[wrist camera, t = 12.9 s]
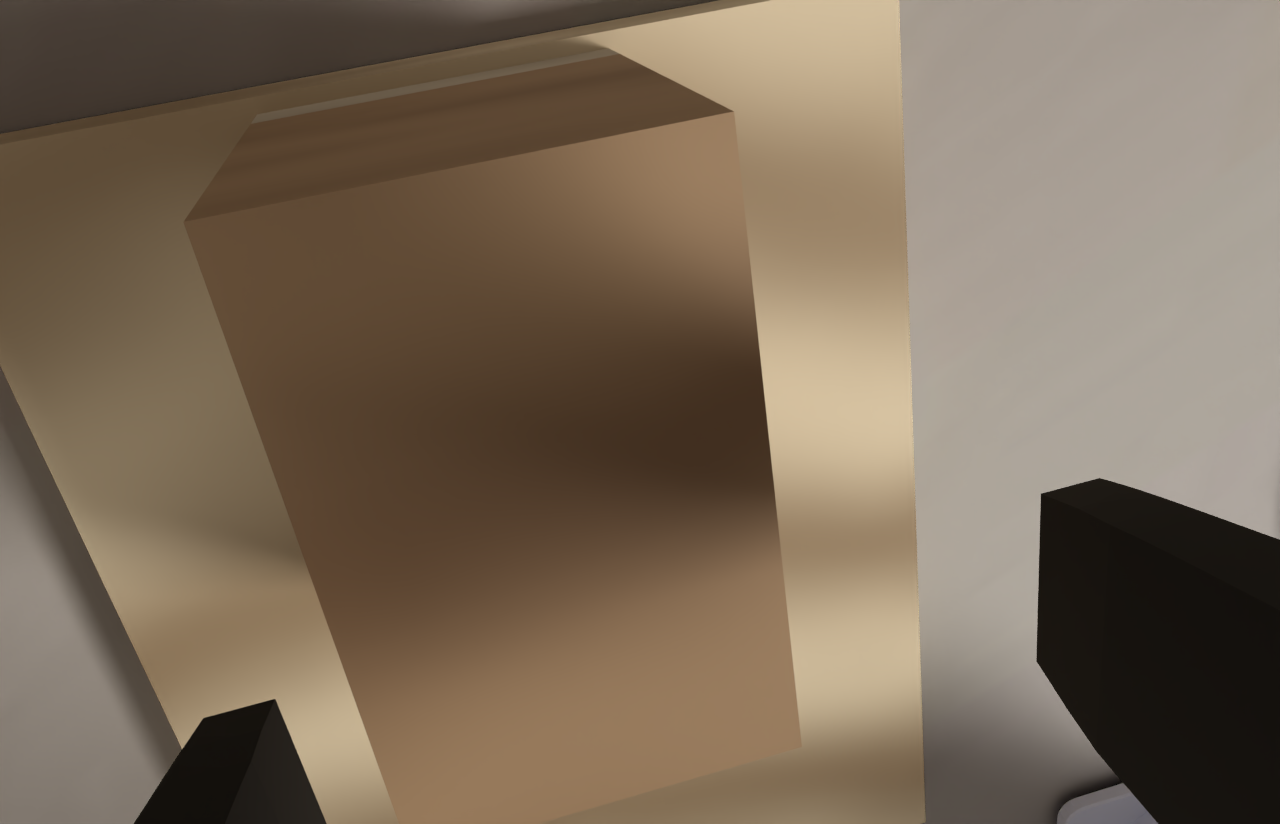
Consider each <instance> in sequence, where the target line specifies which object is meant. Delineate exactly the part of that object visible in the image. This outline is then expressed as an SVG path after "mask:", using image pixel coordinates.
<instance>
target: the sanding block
mask: <svg viewBox="0 0 1280 824" xmlns="http://www.w3.org/2000/svg"><path fill="white" fill-rule="evenodd" d="M183 223H184V225H185V228H186V231H187V234H188V237H189V239H190V242H191V245H192V248H193V251H194V253H195V256H196V259H197V262H198V265H199V267H200V270H201V273H202V276H203V278H204V281H205V284H206V287H207V290H208V292H209V295H210V298H211V301H212V304H213V306H214V309H215V312H216V315H217V317H218V320H219V323H220V326H221V329H222V331H223V334H224V337H225V340H226V343H227V345H228V348H229V351H230V354H231V357H232V359H233V362H234V365H235V368H236V370H237V373H238V376H239V379H240V382H241V384H242V387H243V390H244V393H245V396H246V398H247V401H248V404H249V407H250V410H251V412H252V415H253V418H254V421H255V423H256V426H257V429H258V432H259V435H260V437H261V440H262V443H263V446H264V449H265V451H266V454H267V457H268V460H269V463H270V465H271V468H272V471H273V474H274V476H275V479H276V482H277V485H278V488H279V490H280V493H281V496H282V499H283V502H284V504H285V507H286V510H287V513H288V516H289V518H290V521H291V524H292V527H293V529H294V532H295V535H296V538H297V541H298V543H299V546H300V549H301V552H302V555H303V557H304V560H305V563H306V566H307V568H308V571H309V574H310V577H311V580H312V582H313V585H314V588H315V591H316V594H317V596H318V599H319V602H320V605H321V608H322V610H323V613H324V616H325V619H326V621H327V624H328V627H329V630H330V633H331V635H332V638H333V641H334V644H335V647H336V649H337V652H338V655H339V658H340V661H341V663H342V666H343V669H344V672H345V674H346V677H347V680H348V683H349V686H350V688H351V691H352V694H353V697H354V700H355V702H356V705H357V708H358V711H359V714H360V716H361V719H362V722H363V725H364V727H365V730H366V733H367V736H368V739H369V741H370V744H371V747H372V750H373V753H374V755H375V758H376V761H377V764H378V767H379V769H380V772H381V775H382V778H383V780H384V783H385V786H386V789H387V792H388V794H389V797H390V800H391V803H392V806H393V808H394V811H395V814H396V817H397V819H398V822H399V824H539V823H542V822H545V821H549V820H552V819H556V818H559V817H563V816H566V815H570V814H573V813H576V812H580V811H583V810H587V809H590V808H594V807H597V806H601V805H604V804H607V803H611V802H614V801H618V800H621V799H625V798H628V797H631V796H635V795H638V794H642V793H645V792H649V791H652V790H656V789H659V788H662V787H666V786H669V785H673V784H676V783H680V782H683V781H686V780H690V779H693V778H697V777H700V776H704V775H707V774H711V773H714V772H717V771H721V770H724V769H728V768H731V767H735V766H738V765H742V764H745V763H748V762H752V761H755V760H759V759H762V758H766V757H769V756H772V755H776V754H779V753H783V752H786V751H790V750H793V749H797V748H800V747H802V743H801V734H800V724H799V715H798V706H797V696H796V687H795V678H794V668H793V659H792V649H791V640H790V631H789V621H788V612H787V603H786V593H785V584H784V574H783V565H782V556H781V546H780V537H779V528H778V518H777V509H776V500H775V490H774V481H773V471H772V462H771V453H770V443H769V434H768V425H767V415H766V406H765V396H764V387H763V378H762V368H761V359H760V350H759V340H758V331H757V321H756V312H755V303H754V293H753V284H752V275H751V265H750V256H749V247H748V237H747V228H746V218H745V209H744V200H743V190H742V181H741V172H740V162H739V153H738V143H737V134H736V125H735V115H734V111H732V110H730V109H728V108H726V107H724V106H722V105H720V104H718V103H716V102H714V101H712V100H710V99H708V98H706V97H705V96H703V95H701V94H699V93H697V92H695V91H693V90H691V89H689V88H687V87H685V86H683V85H681V84H679V83H677V82H675V81H673V80H671V79H669V78H667V77H665V76H663V75H661V74H659V73H657V72H655V71H653V70H651V69H649V68H647V67H645V66H643V65H641V64H639V63H637V62H635V61H633V60H631V59H629V58H627V57H625V56H623V55H621V54H619V53H617V52H615V51H613V50H611V49H609V48H606V49H601V50H595V51H590V52H585V53H580V54H574V55H569V56H564V57H558V58H553V59H548V60H543V61H537V62H532V63H527V64H521V65H516V66H511V67H505V68H500V69H495V70H490V71H484V72H479V73H474V74H468V75H463V76H458V77H453V78H447V79H442V80H437V81H431V82H426V83H421V84H416V85H410V86H405V87H400V88H394V89H389V90H384V91H379V92H373V93H368V94H363V95H357V96H352V97H347V98H341V99H336V100H331V101H326V102H320V103H315V104H310V105H304V106H299V107H294V108H289V109H283V110H278V111H273V112H267V113H262V114H257V115H256V117H255V118H254V120H253V121H252V123H251V124H250V126H249V127H248V128H247V130H246V131H245V133H244V134H243V136H242V137H241V139H240V140H239V142H238V143H237V145H236V146H235V147H234V149H233V150H232V152H231V153H230V155H229V156H228V158H227V159H226V161H225V162H224V163H223V165H222V166H221V168H220V169H219V171H218V172H217V174H216V175H215V177H214V178H213V180H212V181H211V182H210V184H209V185H208V187H207V188H206V190H205V191H204V193H203V194H202V196H201V197H200V198H199V200H198V201H197V203H196V204H195V206H194V207H193V209H192V210H191V212H190V213H189V215H188V216H187V217H186V219H185V220H184V222H183Z"/></svg>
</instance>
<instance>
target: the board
mask: <svg viewBox="0 0 1280 824" xmlns="http://www.w3.org/2000/svg"><path fill="white" fill-rule="evenodd" d="M606 48H609V49H611V50H613V51H615V52H617V53H619V54H621V55H623V56H625V57H627V58H629V59H631V60H633V61H635V62H637V63H639V64H641V65H643V66H645V67H647V68H649V69H651V70H653V71H655V72H657V73H659V74H661V75H663V76H665V77H667V78H669V79H671V80H673V81H675V82H677V83H679V84H681V85H683V86H685V87H687V88H689V89H691V90H693V91H695V92H697V93H699V94H701V95H703V96H705V97H706V98H708V99H710V100H712V101H714V102H716V103H718V104H720V105H722V106H724V107H726V108H728V109H730V110H732V111H734V115H735V125H736V134H737V143H738V153H739V162H740V172H741V181H742V190H743V200H744V209H745V218H746V228H747V237H748V247H749V256H750V265H751V275H752V284H753V293H754V303H755V312H756V321H757V331H758V340H759V350H760V359H761V368H762V378H763V387H764V396H765V406H766V415H767V425H768V434H769V443H770V453H771V462H772V471H773V481H774V490H775V500H776V509H777V518H778V528H779V537H780V546H781V556H782V565H783V574H784V584H785V593H786V603H787V612H788V621H789V631H790V640H791V649H792V659H793V668H794V678H795V687H796V696H797V706H798V715H799V724H800V734H801V743H802V747H800V748H797V749H793V750H790V751H786V752H783V753H779V754H776V755H772V756H769V757H766V758H762V759H759V760H755V761H752V762H748V763H745V764H742V765H738V766H735V767H731V768H728V769H724V770H721V771H717V772H714V773H711V774H707V775H704V776H700V777H697V778H693V779H690V780H686V781H683V782H680V783H676V784H673V785H669V786H666V787H662V788H659V789H656V790H652V791H649V792H645V793H642V794H638V795H635V796H631V797H628V798H625V799H621V800H618V801H614V802H611V803H607V804H604V805H601V806H597V807H594V808H590V809H587V810H583V811H580V812H576V813H573V814H570V815H566V816H563V817H559V818H556V819H552V820H549V821H545V822H542V823H539V824H921V823H924V822H926V818H925V787H924V756H923V725H922V694H921V663H920V632H919V602H918V571H917V540H916V509H915V478H914V447H913V417H912V386H911V355H910V324H909V293H908V262H907V231H906V201H905V170H904V139H903V108H902V77H901V46H900V16H899V0H718V1H713V2H708V3H702V4H697V5H691V6H686V7H681V8H675V9H670V10H664V11H659V12H654V13H648V14H643V15H638V16H632V17H627V18H621V19H616V20H611V21H605V22H600V23H595V24H589V25H584V26H578V27H573V28H568V29H562V30H557V31H551V32H546V33H541V34H535V35H530V36H525V37H519V38H514V39H508V40H503V41H498V42H492V43H487V44H481V45H476V46H471V47H465V48H460V49H455V50H449V51H444V52H438V53H433V54H428V55H422V56H417V57H411V58H406V59H401V60H395V61H390V62H385V63H379V64H374V65H368V66H363V67H358V68H352V69H347V70H341V71H336V72H331V73H325V74H320V75H315V76H309V77H304V78H298V79H293V80H288V81H282V82H277V83H271V84H266V85H261V86H255V87H250V88H245V89H239V90H234V91H228V92H223V93H218V94H212V95H207V96H202V97H196V98H191V99H185V100H180V101H175V102H169V103H164V104H158V105H153V106H148V107H142V108H137V109H132V110H126V111H121V112H115V113H110V114H105V115H99V116H94V117H88V118H83V119H78V120H72V121H67V122H62V123H56V124H51V125H45V126H40V127H35V128H29V129H24V130H18V131H13V132H8V133H2V134H0V367H1V369H2V371H3V373H4V375H5V377H6V379H7V381H8V384H9V386H10V388H11V390H12V392H13V394H14V396H15V398H16V400H17V403H18V405H19V407H20V409H21V411H22V413H23V415H24V417H25V419H26V422H27V424H28V426H29V428H30V430H31V432H32V434H33V436H34V438H35V440H36V443H37V445H38V447H39V449H40V451H41V453H42V455H43V457H44V459H45V462H46V464H47V466H48V468H49V470H50V472H51V474H52V476H53V478H54V480H55V483H56V485H57V487H58V489H59V491H60V493H61V495H62V497H63V499H64V502H65V504H66V506H67V508H68V510H69V512H70V514H71V516H72V518H73V520H74V523H75V525H76V527H77V529H78V531H79V533H80V535H81V537H82V539H83V542H84V544H85V546H86V548H87V550H88V552H89V554H90V556H91V558H92V561H93V563H94V565H95V567H96V569H97V571H98V573H99V575H100V577H101V579H102V582H103V584H104V586H105V588H106V590H107V592H108V594H109V596H110V598H111V601H112V603H113V605H114V607H115V609H116V611H117V613H118V615H119V617H120V619H121V622H122V624H123V626H124V628H125V630H126V632H127V634H128V636H129V638H130V641H131V643H132V645H133V647H134V649H135V651H136V653H137V655H138V657H139V659H140V662H141V664H142V666H143V668H144V670H145V672H146V674H147V676H148V678H149V681H150V683H151V685H152V687H153V689H154V691H155V693H156V695H157V697H158V700H159V702H160V704H161V706H162V708H163V710H164V712H165V714H166V716H167V718H168V721H169V723H170V725H171V727H172V729H173V731H174V733H175V735H176V737H177V740H178V742H179V744H180V746H181V748H182V749H183V747H184V746H185V744H186V743H187V742H188V740H189V739H190V737H191V736H192V734H193V733H194V731H195V730H196V728H197V727H198V725H199V724H200V722H201V721H202V719H203V718H205V717H209V716H213V715H217V714H220V713H224V712H228V711H231V710H235V709H239V708H243V707H246V706H250V705H254V704H258V703H261V702H265V701H269V700H273V699H276V702H277V704H278V707H279V709H280V712H281V714H282V716H283V719H284V721H285V724H286V726H287V729H288V731H289V733H290V736H291V738H292V741H293V743H294V746H295V748H296V750H297V753H298V755H299V758H300V760H301V763H302V765H303V767H304V770H305V772H306V775H307V777H308V780H309V782H310V784H311V787H312V789H313V792H314V794H315V796H316V799H317V801H318V804H319V806H320V809H321V811H322V813H323V816H324V818H325V821H326V823H327V824H399V822H398V819H397V817H396V814H395V811H394V808H393V806H392V803H391V800H390V797H389V794H388V792H387V789H386V786H385V783H384V780H383V778H382V775H381V772H380V769H379V767H378V764H377V761H376V758H375V755H374V753H373V750H372V747H371V744H370V741H369V739H368V736H367V733H366V730H365V727H364V725H363V722H362V719H361V716H360V714H359V711H358V708H357V705H356V702H355V700H354V697H353V694H352V691H351V688H350V686H349V683H348V680H347V677H346V674H345V672H344V669H343V666H342V663H341V661H340V658H339V655H338V652H337V649H336V647H335V644H334V641H333V638H332V635H331V633H330V630H329V627H328V624H327V621H326V619H325V616H324V613H323V610H322V608H321V605H320V602H319V599H318V596H317V594H316V591H315V588H314V585H313V582H312V580H311V577H310V574H309V571H308V568H307V566H306V563H305V560H304V557H303V555H302V552H301V549H300V546H299V543H298V541H297V538H296V535H295V532H294V529H293V527H292V524H291V521H290V518H289V516H288V513H287V510H286V507H285V504H284V502H283V499H282V496H281V493H280V490H279V488H278V485H277V482H276V479H275V476H274V474H273V471H272V468H271V465H270V463H269V460H268V457H267V454H266V451H265V449H264V446H263V443H262V440H261V437H260V435H259V432H258V429H257V426H256V423H255V421H254V418H253V415H252V412H251V410H250V407H249V404H248V401H247V398H246V396H245V393H244V390H243V387H242V384H241V382H240V379H239V376H238V373H237V370H236V368H235V365H234V362H233V359H232V357H231V354H230V351H229V348H228V345H227V343H226V340H225V337H224V334H223V331H222V329H221V326H220V323H219V320H218V317H217V315H216V312H215V309H214V306H213V304H212V301H211V298H210V295H209V292H208V290H207V287H206V284H205V281H204V278H203V276H202V273H201V270H200V267H199V265H198V262H197V259H196V256H195V253H194V251H193V248H192V245H191V242H190V239H189V237H188V234H187V231H186V228H185V225H184V223H183V222H184V220H185V219H186V217H187V216H188V215H189V213H190V212H191V210H192V209H193V207H194V206H195V204H196V203H197V201H198V200H199V198H200V197H201V196H202V194H203V193H204V191H205V190H206V188H207V187H208V185H209V184H210V182H211V181H212V180H213V178H214V177H215V175H216V174H217V172H218V171H219V169H220V168H221V166H222V165H223V163H224V162H225V161H226V159H227V158H228V156H229V155H230V153H231V152H232V150H233V149H234V147H235V146H236V145H237V143H238V142H239V140H240V139H241V137H242V136H243V134H244V133H245V131H246V130H247V128H248V127H249V126H250V124H251V123H252V121H253V120H254V118H255V117H256V115H257V114H262V113H267V112H273V111H278V110H283V109H289V108H294V107H299V106H304V105H310V104H315V103H320V102H326V101H331V100H336V99H341V98H347V97H352V96H357V95H363V94H368V93H373V92H379V91H384V90H389V89H394V88H400V87H405V86H410V85H416V84H421V83H426V82H431V81H437V80H442V79H447V78H453V77H458V76H463V75H468V74H474V73H479V72H484V71H490V70H495V69H500V68H505V67H511V66H516V65H521V64H527V63H532V62H537V61H543V60H548V59H553V58H558V57H564V56H569V55H574V54H580V53H585V52H590V51H595V50H601V49H606Z"/></svg>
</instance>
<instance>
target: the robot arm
mask: <svg viewBox="0 0 1280 824" xmlns="http://www.w3.org/2000/svg"><path fill="white" fill-rule="evenodd" d="M1037 662H1038V664H1039V666H1040V667H1041V669H1042V670H1043V672H1044V673H1045V675H1046V676H1047V678H1048V680H1049V681H1050V683H1051V684H1052V686H1053V687H1054V689H1055V691H1056V692H1057V694H1058V695H1059V697H1060V698H1061V700H1062V701H1063V703H1064V705H1065V706H1066V708H1067V709H1068V711H1069V712H1070V714H1071V715H1072V717H1073V718H1074V719H1075V721H1076V722H1077V724H1078V725H1079V727H1080V728H1081V730H1082V731H1083V732H1084V734H1085V735H1086V737H1087V738H1088V740H1089V741H1090V743H1091V744H1092V746H1093V747H1094V748H1095V750H1096V751H1097V752H1098V754H1099V755H1100V756H1101V757H1102V758H1103V760H1104V761H1105V762H1106V763H1107V764H1108V766H1109V767H1110V768H1111V769H1112V770H1113V772H1114V773H1115V774H1116V775H1117V776H1118V777H1119V779H1120V780H1121V781H1122V782H1123V783H1121V784H1118V785H1115V786H1112V787H1109V788H1105V789H1102V790H1099V791H1096V792H1092V793H1089V794H1086V795H1083V796H1080V797H1076V798H1074V799H1071V800H1069V801H1068V802H1067V803H1065V804H1064V805H1063V806H1062V808H1061V809H1060V810H1059V814H1058V817H1057V824H1280V540H1279V539H1276V538H1273V537H1270V536H1268V535H1265V534H1262V533H1259V532H1257V531H1254V530H1251V529H1248V528H1246V527H1243V526H1240V525H1237V524H1234V523H1232V522H1229V521H1226V520H1223V519H1221V518H1218V517H1215V516H1212V515H1210V514H1207V513H1204V512H1201V511H1198V510H1196V509H1193V508H1190V507H1187V506H1184V505H1182V504H1179V503H1176V502H1173V501H1170V500H1167V499H1164V498H1162V497H1159V496H1156V495H1153V494H1150V493H1147V492H1144V491H1141V490H1138V489H1134V488H1131V487H1128V486H1125V485H1122V484H1118V483H1115V482H1111V481H1108V480H1104V479H1100V478H1099V479H1095V480H1091V481H1087V482H1084V483H1080V484H1076V485H1072V486H1069V487H1065V488H1061V489H1057V490H1054V491H1050V492H1046V493H1043V494H1041V516H1040V554H1039V591H1038V628H1037ZM134 824H327V823H326V821H325V818H324V816H323V813H322V811H321V809H320V806H319V804H318V801H317V799H316V796H315V794H314V792H313V789H312V787H311V784H310V782H309V780H308V777H307V775H306V772H305V770H304V767H303V765H302V763H301V760H300V758H299V755H298V753H297V750H296V748H295V746H294V743H293V741H292V738H291V736H290V733H289V731H288V729H287V726H286V724H285V721H284V719H283V716H282V714H281V712H280V709H279V707H278V704H277V702H276V699H273V700H269V701H265V702H261V703H258V704H254V705H250V706H246V707H243V708H239V709H235V710H231V711H228V712H224V713H220V714H217V715H213V716H209V717H205V718H203V719H202V721H201V722H200V724H199V725H198V727H197V728H196V730H195V731H194V733H193V734H192V736H191V737H190V739H189V740H188V742H187V743H186V744H185V746H184V747H183V749H182V750H181V752H180V753H179V755H178V756H177V758H176V759H175V761H174V762H173V764H172V766H171V767H170V769H169V770H168V772H167V773H166V775H165V776H164V778H163V779H162V781H161V782H160V784H159V786H158V787H157V789H156V790H155V792H154V793H153V795H152V796H151V798H150V799H149V801H148V803H147V804H146V806H145V807H144V809H143V810H142V812H141V813H140V815H139V816H138V818H137V819H136V821H135V823H134Z"/></svg>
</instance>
